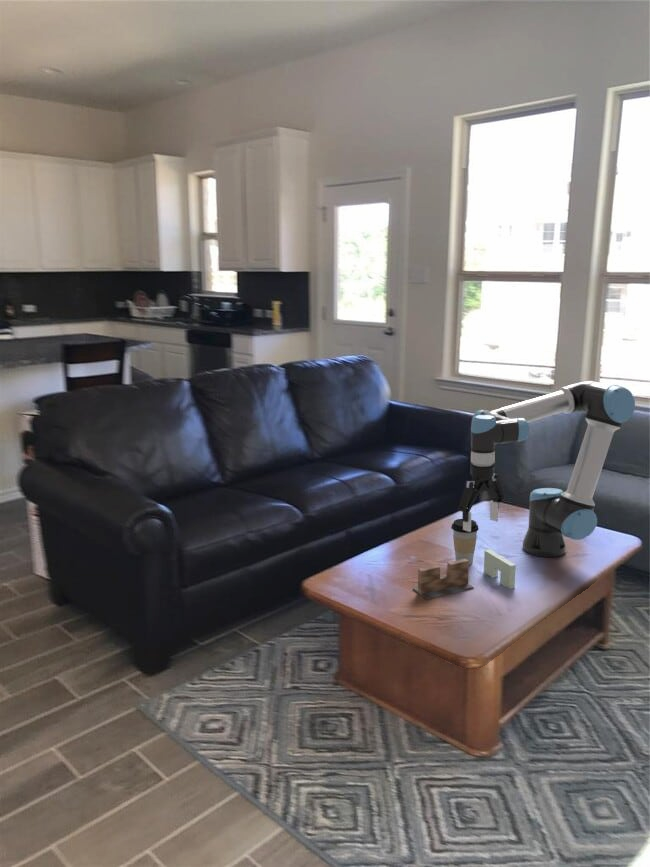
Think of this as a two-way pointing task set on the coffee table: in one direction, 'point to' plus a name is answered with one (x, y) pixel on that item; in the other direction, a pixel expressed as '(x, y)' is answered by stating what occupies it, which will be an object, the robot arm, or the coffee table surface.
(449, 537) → the coffee table surface
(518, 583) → the coffee table surface
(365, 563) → the coffee table surface
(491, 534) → the coffee table surface
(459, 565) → the brown piece
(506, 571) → the pale green upright panel
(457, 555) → the coffee cup
